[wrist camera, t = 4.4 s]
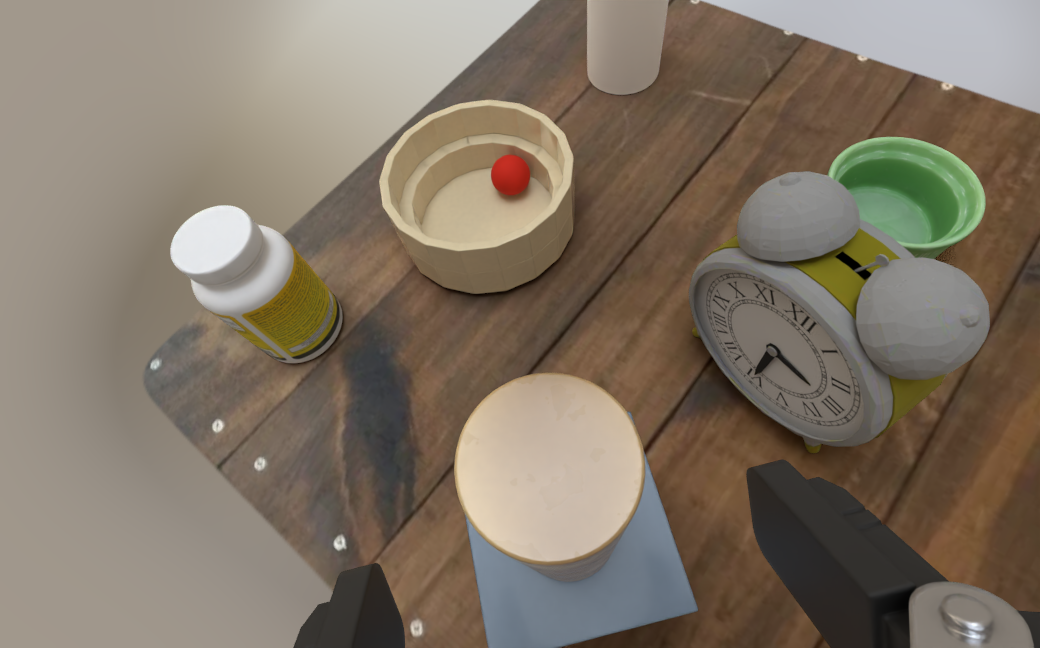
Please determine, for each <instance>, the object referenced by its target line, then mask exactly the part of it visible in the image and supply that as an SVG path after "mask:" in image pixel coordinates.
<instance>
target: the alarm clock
mask: <svg viewBox="0 0 1040 648" xmlns="http://www.w3.org/2000/svg"><path fill="white" fill-rule="evenodd" d="M689 304H690V308H691V312H692V316H693V319H694V323H695V326H696V327H695V328H693V331H692V333H693V335H694V336H695V337H698V338H701V339H702V341H703V343H704V345H705V347H706V348H707V350H708V351H709V353H710V354H711V356H712V357H713V359H714V360H715V362H716V363H717V365H718V366H719V368H720V369H721V371H722V372H723V374H724V375H725V376H726V377H727V378H728V379H729V380H730V381H731V382H732V384H733V385H734V386H735V387H736V388H737V389H738V390H739V391H740V392H741V393H742V394H743V395H744V396H745V397H746V398H747V399H748V400H750V401H751V402H752V403H753V404H754V405H755V406H756V407H757V408H758V409H759V410H761V411H762V412H763V413H764V414H765V415H767V416H768V417H770V418H772V419H773V420H775V421H776V422H778V423H779V424H781V425H782V426H784V427H786V428H787V429H789V430H790V431H792V432H793V433H795V434H797V435H799V436H802V437H803V439H804V443H805V446H806V449H807V451H809V452H810V453H818V451H819V450H820V448H821V444H825V445H830V446H835V447H841V446H858V445H861V444H864V443H867V442H869V441H870V440H872V439H874V438H877V437H879V436H880V435H881V434H883V433H884V432H885V431H886V430H887V429H888V428H890V427H891V426H892V425H893V424H894V423H896V422H897V421H898V420H899V419H900V418H902V417H903V416H904V415H905V414H906V413H908V412H909V411H910V410H911V409H912V408H914V407H915V406H916V405H917V404H918V403H919V402H921V401H922V400H923V399H924V398H925V397H927V396H928V395H929V394H930V393H931V392H932V391H934V390H935V389H936V388H937V387H938V386H939V385H941V383H942V381H943V379H944V378H945V377H946V375H947V374H948V373H950V372H952V371H954V370H955V369H957V368H958V367H960V366H961V365H963V364H964V363H966V362H967V361H969V360H970V359H972V358H973V357H974V355H975V354H976V353H977V352H978V350H979V349H980V347H981V345H982V344H983V343H984V341H985V339H986V337H987V333H988V330H989V323H990V321H989V304H988V302H987V300H986V298H985V296H984V294H983V293H982V291H981V289H980V287H979V286H978V285H977V284H976V283H975V282H974V281H973V280H972V279H971V278H970V277H969V276H968V275H966V274H965V273H964V272H963V271H962V270H960V269H958V268H955V267H953V266H951V265H949V264H946V263H944V262H940V261H937V260H935V259H930V258H924V257H921V258H915V257H914V256H913V255H912V254H911V253H910V252H909V251H908V250H907V249H905V248H904V247H903V246H902V245H901V244H899V243H898V242H897V241H896V240H895V239H893V238H892V237H891V236H889V235H888V234H886V233H884V232H883V231H881V230H880V229H878V228H876V227H875V226H873V225H872V224H870V223H868V222H866V221H864V220H861V219H860V215H859V209H858V207H857V204H856V202H855V200H854V197H853V196H852V195H851V193H850V192H849V191H848V190H847V189H846V188H845V187H844V186H843V185H842V184H841V183H839V182H837V181H836V180H834V179H832V178H831V177H829V176H827V175H822V174H818V173H813V172H791V173H787V174H784V175H782V176H779V177H777V178H774V179H772V180H770V181H768V182H766V183H764V184H763V185H762V186H760V187H759V188H758V189H757V190H756V191H755V192H754V193H753V194H752V196H751V197H750V198H749V199H748V200H747V202H746V203H745V204H744V206H743V208H742V210H741V212H740V216H739V220H738V224H737V235H735V236H734V237H732V238H731V239H729V240H728V241H727V242H725V243H724V244H722V245H721V246H719V247H718V248H717V249H715V250H714V251H712V252H711V253H710V254H709V255H708V256H707V257H705V258H704V259H703V261H702V262H701V263H700V264H699V265H698V266H697V268H696V270H695V271H694V273H693V275H692V279H691V284H690V288H689Z"/></svg>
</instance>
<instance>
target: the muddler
mask: <svg viewBox="0 0 1040 648" xmlns="http://www.w3.org/2000/svg"><path fill="white" fill-rule="evenodd" d="M454 475H455V485H456V489H457V494H458V498H459V501H460V503H461V506H462V508H463V511H464V513H465V514H466V516H467V518H468V520H469V522H470V523H471V524H472V526H473V527H474V528H475V530H476V531H477V532H478V533H479V534H480V536H481V537H482V538H483V539H484V540H485V541H486V542H488V543H489V544H490V545H491V546H493V547H494V548H495V549H496V550H498V551H500V552H502V553H503V554H505V555H507V556H509V557H510V558H512V559H514V560H516V561H518V562H520V563H522V564H524V565H526V566H528V567H530V568H531V569H533V570H535V571H537V572H539V573H541V574H543V575H545V576H547V577H549V578H552V579H554V580H558V581H565V582H573V581H579V580H582V579H585V578H588V577H590V576H592V575H593V574H595V573H596V572H598V571H599V570H600V569H601V568H602V567H603V566H604V565H605V563H606V562H607V561H608V559H609V558H610V556H611V554H612V552H613V551H614V549H615V547H616V545H617V544H618V542H619V540H620V539H621V537H622V535H623V533H624V532H625V530H626V528H627V526H628V525H629V523H630V521H631V519H632V518H633V516H634V514H635V512H636V510H637V507H638V505H639V503H640V500H641V496H642V492H643V489H644V481H645V457H644V450H643V446H642V442H641V439H640V436H639V434H638V431H637V429H636V426H635V425H634V423H633V421H632V419H631V418H630V416H629V414H628V413H627V412H626V410H625V409H624V408H623V407H622V405H621V404H620V403H619V402H618V401H617V400H616V399H615V398H614V397H613V396H611V395H610V394H609V393H608V392H606V391H605V390H604V389H602V388H601V387H599V386H597V385H596V384H594V383H592V382H590V381H587V380H585V379H583V378H579V377H576V376H573V375H568V374H562V373H537V374H532V375H526V376H523V377H520V378H517V379H514V380H512V381H510V382H508V383H506V384H504V385H502V386H501V387H499V388H497V389H496V390H494V391H493V392H492V393H491V394H489V395H488V396H487V397H486V398H485V399H484V400H483V401H482V402H481V403H480V404H479V405H478V406H477V407H476V409H475V410H474V411H473V413H472V414H471V415H470V417H469V419H468V420H467V422H466V424H465V426H464V428H463V430H462V433H461V435H460V438H459V441H458V445H457V448H456V455H455V464H454Z"/></svg>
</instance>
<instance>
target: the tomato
mask: <svg viewBox="0 0 1040 648" xmlns="http://www.w3.org/2000/svg"><path fill="white" fill-rule="evenodd" d="M491 180H492V183H493V185H494V187H495V188H496V189H497V190H498V191H499V192H501V193H502V194H505V195H516V194H519V193H521V192H522V191H523V190H524V189H525V188H526V187H527V185H528V183H529V180H530V170H529V167H528V165H527V163H526V162H525V161H524V160H523V159H522V158H520V157H519V156H516V155H505V156H502V157H500V158H499V159H498V160H497V161H496V162H495V163H494V165H493V167H492V170H491Z"/></svg>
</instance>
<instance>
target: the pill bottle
mask: <svg viewBox="0 0 1040 648" xmlns="http://www.w3.org/2000/svg"><path fill="white" fill-rule="evenodd" d="M171 258H172V261H173V263H174V264H175V266H176V267H177V268H178V269H179V270H180V271H181V272H183V273H184V274H185V275H186V276H187V277H189V278H190V279H191V285H192V289H193V292H194V294H195V296H196V298H197V299H198V300H199V302H200V303H201V304H202V305H203V306H204V307H205V308H206V309H208V310H209V311H210V312H212V313H213V314H214V315H216V316H217V317H218V318H220V319H221V320H222V321H224V322H225V323H226V324H227V325H229V326H230V327H231V328H233V329H234V330H235V331H237V332H238V333H239V334H241V335H242V336H243V337H245V338H246V339H247V340H249V341H250V342H251V343H253V344H254V345H255V346H257V347H258V348H260V349H261V350H262V351H264V352H265V353H266V354H268V355H269V356H271V357H272V358H274V359H276V360H278V361H281V362H285V363H301V362H305V361H308V360H311V359H313V358H315V357H317V356H319V355H321V354H322V353H323V352H324V351H326V350H327V349H328V348H329V347H330V346H331V344H332V343H333V342H334V341H335V339H336V337H337V336H338V334H339V331H340V329H341V325H342V319H343V316H342V309H341V306H340V303H339V301H338V300H337V298H336V297H335V295H334V294H333V293H332V292H331V291H330V289H329V288H328V287H327V286H326V285H325V284H324V283H323V281H322V280H321V279H320V278H319V277H318V275H317V274H316V273H315V272H314V271H313V270H312V268H311V267H310V266H309V265H308V264H307V263H306V261H305V260H304V259H303V258H302V257H301V256H300V254H299V253H298V252H297V251H296V250H295V248H294V247H293V246H292V245H291V244H290V242H289V241H288V240H287V239H285V238H284V237H283V236H282V235H281V234H280V233H279V232H277V231H275V230H274V229H271V228H269V227H265V226H261V225H258V224H256V223H255V221H253V219H252V218H250V217H249V215H248V214H247V213H246V212H244V211H243V210H241V209H240V208H237V207H234V206H227V205H222V206H215V207H211V208H208V209H205V210H203V211H201V212H199V213H197V214H195V215H194V216H192V217H191V218H189V219H188V220H187V221H186V222H185V223H184V224H183V225H182V226H181V227H180V229H179V230H178V231H177V233H176V234H175V236H174V238H173V241H172V244H171Z"/></svg>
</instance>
